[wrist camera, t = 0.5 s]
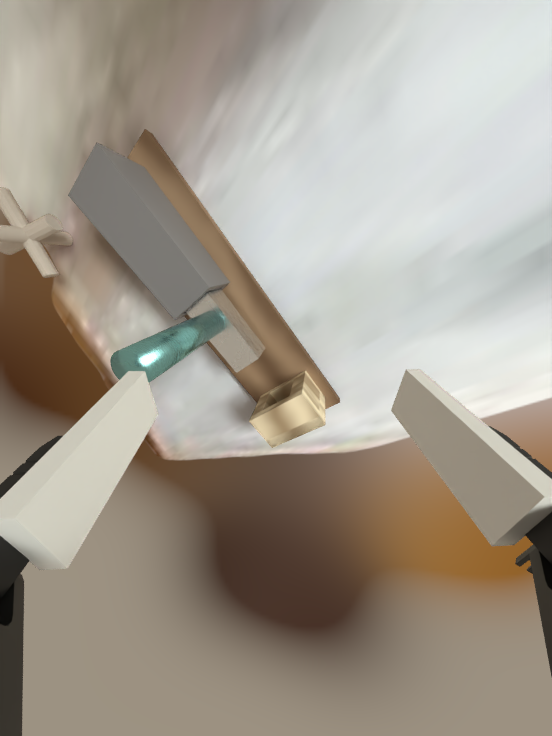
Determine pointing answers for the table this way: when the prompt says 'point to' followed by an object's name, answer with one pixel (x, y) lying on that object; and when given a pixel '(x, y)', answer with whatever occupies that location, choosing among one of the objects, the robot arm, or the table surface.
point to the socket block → (289, 410)
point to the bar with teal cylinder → (193, 339)
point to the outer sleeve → (145, 230)
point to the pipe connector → (30, 234)
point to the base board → (235, 285)
